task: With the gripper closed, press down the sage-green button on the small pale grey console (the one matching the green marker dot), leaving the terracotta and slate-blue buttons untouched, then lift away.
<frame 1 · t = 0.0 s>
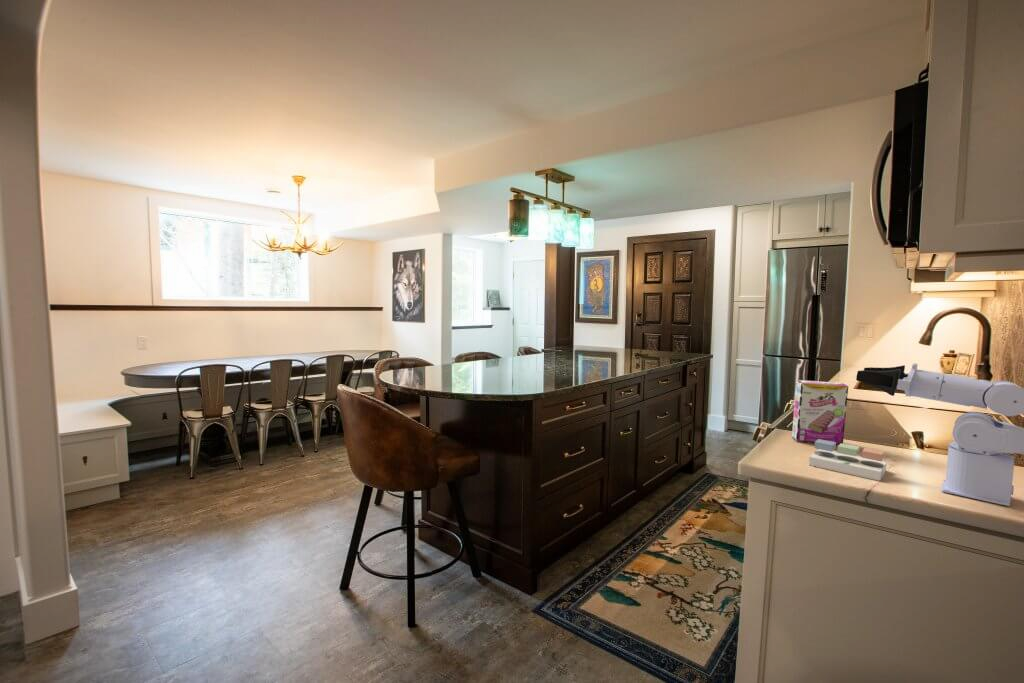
hand: (860, 373, 105), 22 cm above the worktop, tool horizontal, fingers open, 7 cm apart
candy bar box: (817, 442, 127), on the worktop
console: (847, 467, 107), on the worktop
sage button: (848, 449, 107), point 4 cm above the worktop, slide at 0.0 cm
terracotta button: (873, 454, 103), point 4 cm above the worktop, slide at 0.0 cm
slate button: (825, 445, 110), point 4 cm above the worktop, slide at 0.0 cm
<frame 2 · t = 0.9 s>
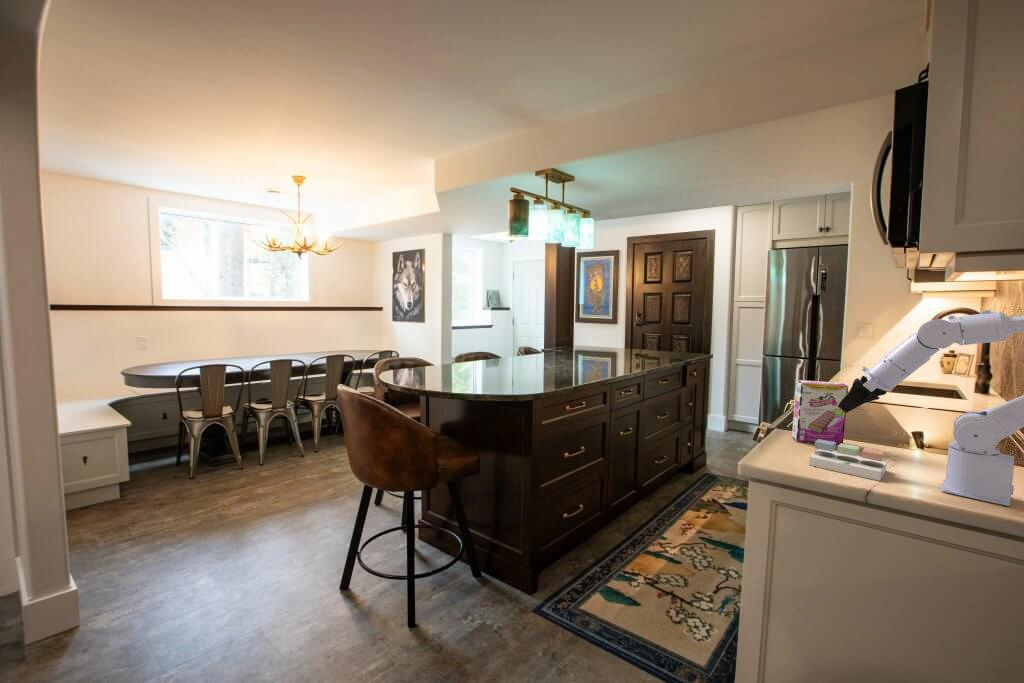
hand: (845, 407, 107), 14 cm above the worktop, tool tilted 40°, fingers open, 7 cm apart
nothing on the worktop moved.
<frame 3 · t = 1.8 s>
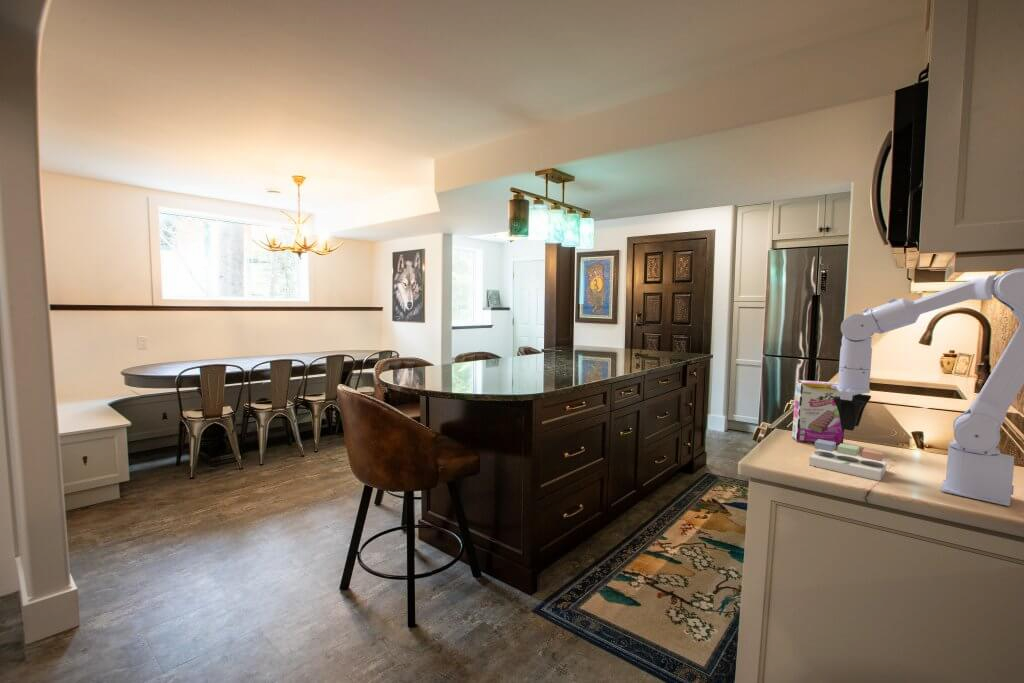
hand: (850, 427, 106), 9 cm above the worktop, tool pointing down, fingers open, 5 cm apart
nothing on the worktop moved.
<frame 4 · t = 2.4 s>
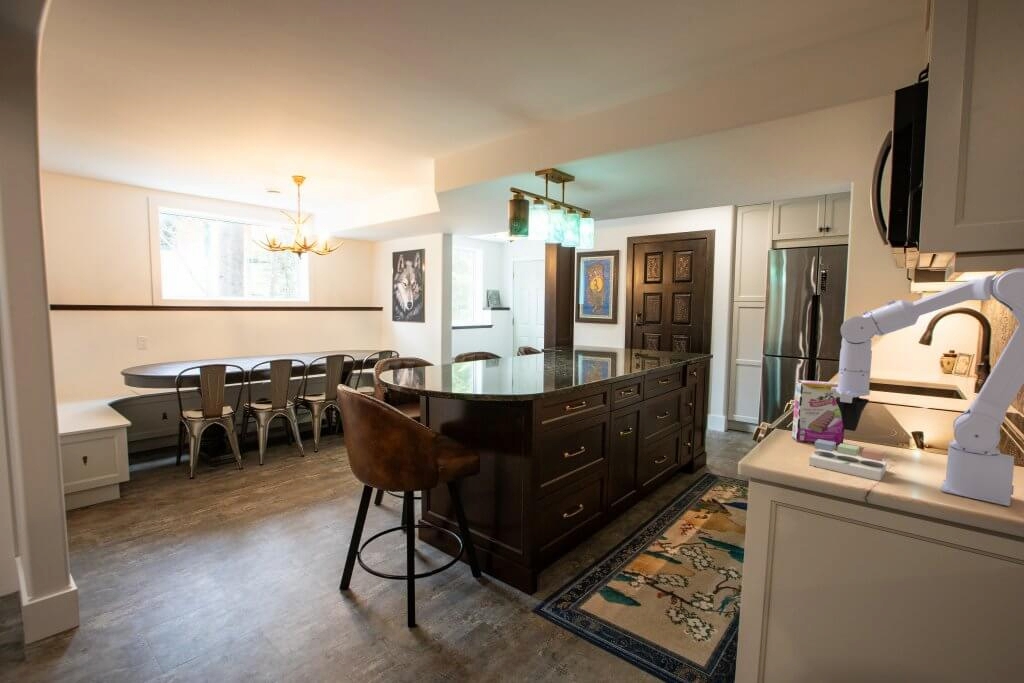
hand: (849, 429, 106), 9 cm above the worktop, tool pointing down, fingers closed
nothing on the worktop moved.
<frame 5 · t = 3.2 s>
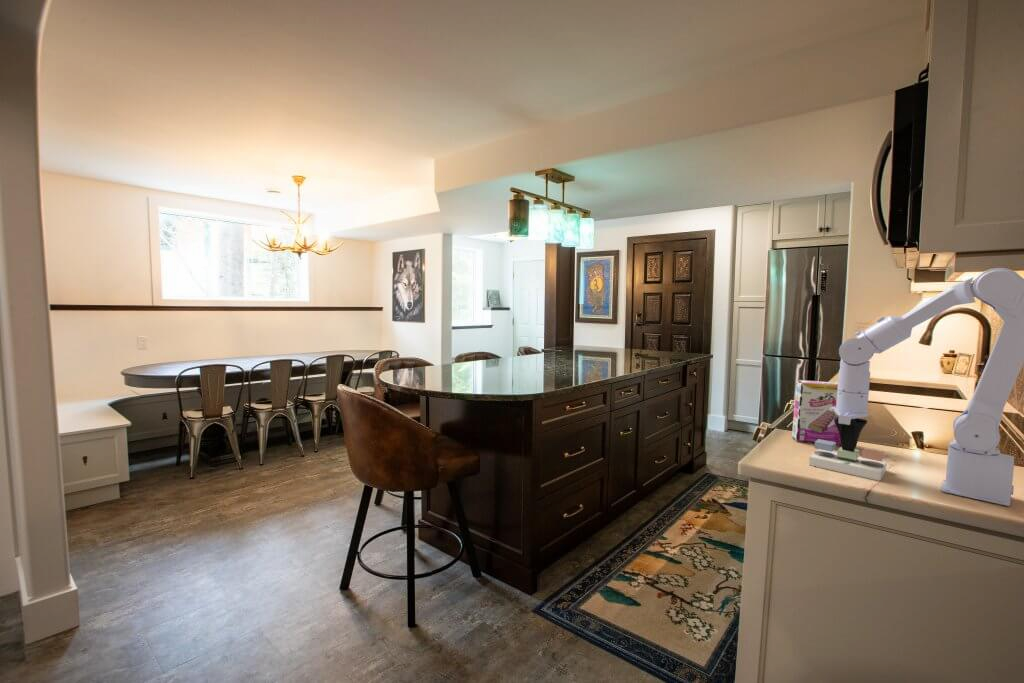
hand: (848, 450, 107), 4 cm above the worktop, tool pointing down, fingers closed, pressing on sage button
sage button: (848, 453, 107), point 3 cm above the worktop, slide at 0.9 cm, touching gripper
everything else where it was.
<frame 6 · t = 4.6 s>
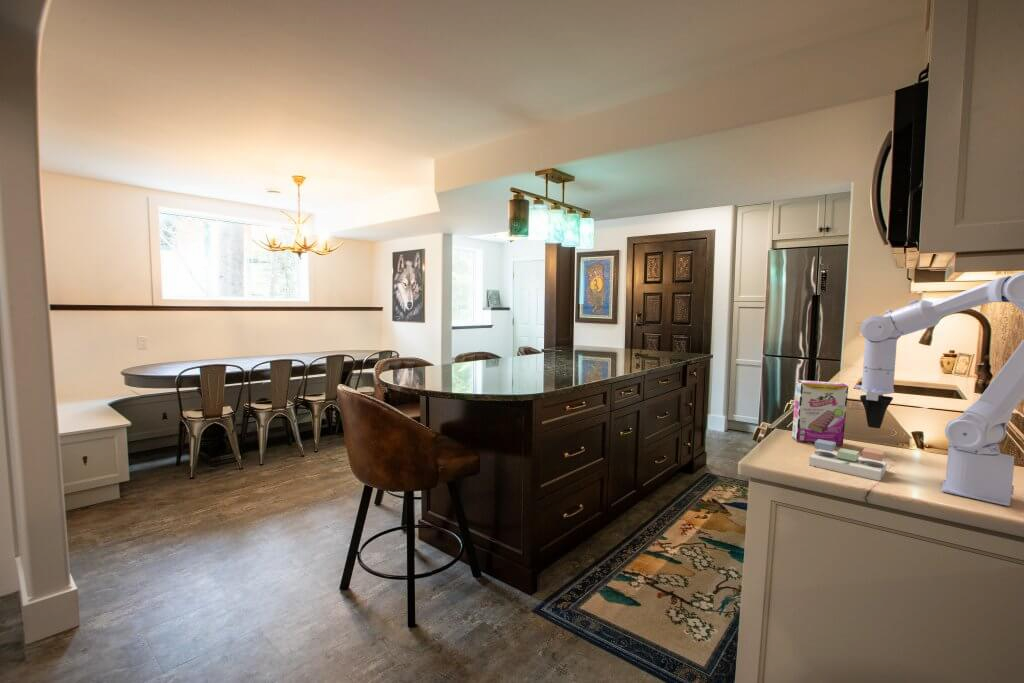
hand: (874, 427, 108), 9 cm above the worktop, tool pointing down, fingers closed
sage button: (848, 454, 107), point 3 cm above the worktop, slide at 1.1 cm
everything else where it was.
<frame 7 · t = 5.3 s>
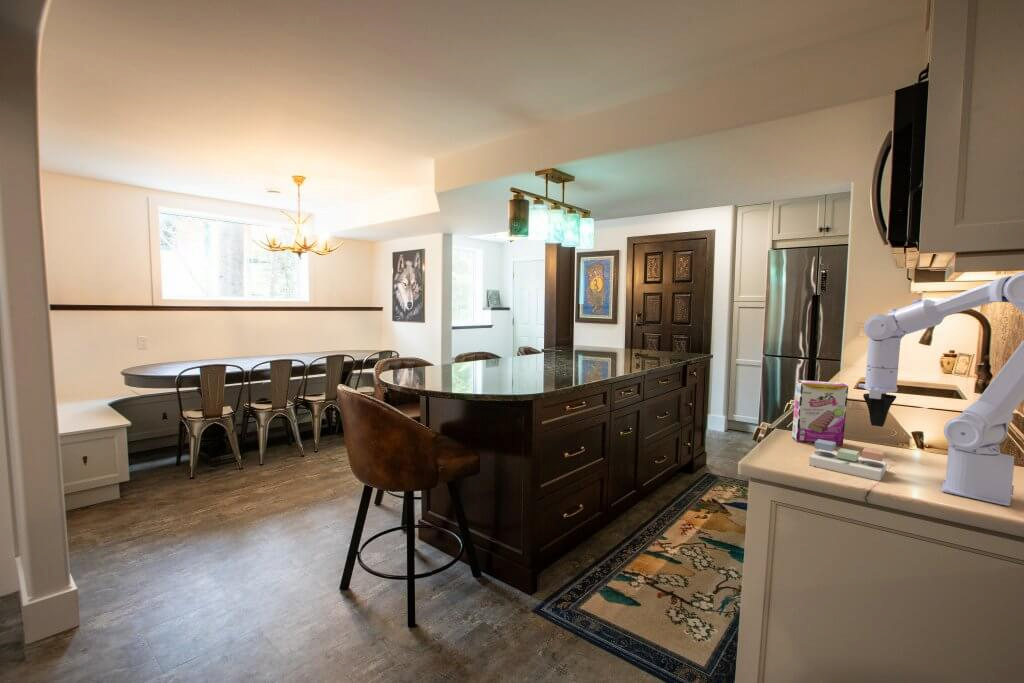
hand: (877, 425, 108), 9 cm above the worktop, tool pointing down, fingers closed
nothing on the worktop moved.
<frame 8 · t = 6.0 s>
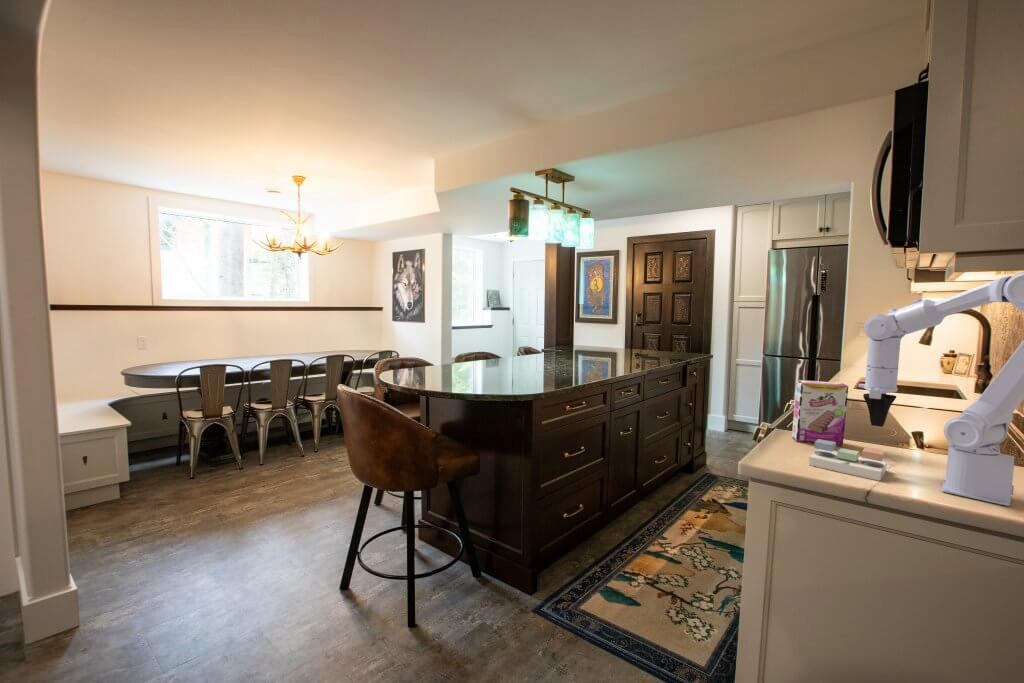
hand: (877, 425, 108), 9 cm above the worktop, tool pointing down, fingers closed
nothing on the worktop moved.
at the end: sage button slide at 1.1 cm; terracotta button slide at 0.0 cm; slate button slide at 0.0 cm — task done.
